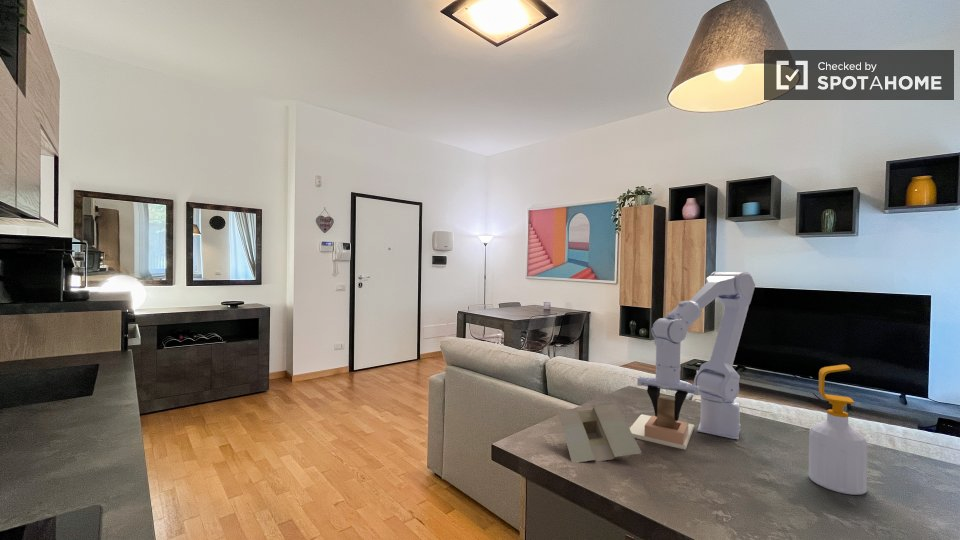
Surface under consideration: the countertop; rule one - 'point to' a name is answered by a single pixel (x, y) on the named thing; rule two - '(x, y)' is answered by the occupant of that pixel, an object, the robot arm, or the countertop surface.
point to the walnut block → (666, 412)
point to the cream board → (639, 433)
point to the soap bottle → (837, 446)
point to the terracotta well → (666, 431)
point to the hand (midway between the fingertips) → (666, 417)
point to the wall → (597, 433)
